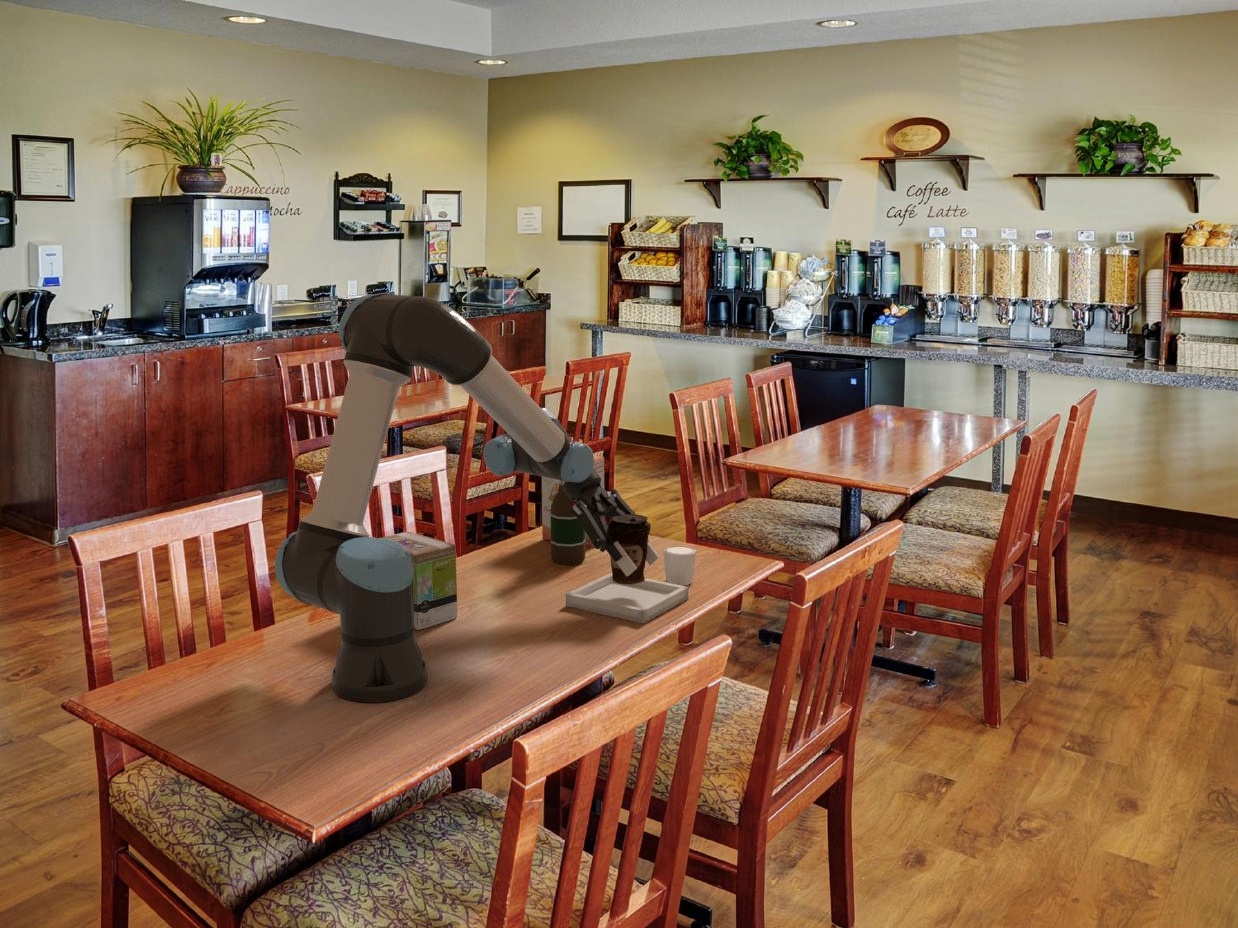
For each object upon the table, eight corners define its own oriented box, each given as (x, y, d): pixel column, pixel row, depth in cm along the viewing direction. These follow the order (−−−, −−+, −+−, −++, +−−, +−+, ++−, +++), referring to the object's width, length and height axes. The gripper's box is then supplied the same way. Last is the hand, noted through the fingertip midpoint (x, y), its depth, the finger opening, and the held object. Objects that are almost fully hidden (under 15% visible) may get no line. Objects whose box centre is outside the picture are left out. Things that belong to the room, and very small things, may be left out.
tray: (643, 623, 210) (643, 611, 210) (565, 605, 220) (565, 593, 219) (688, 598, 224) (688, 587, 224) (613, 583, 234) (613, 571, 233)
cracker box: (541, 540, 265) (540, 454, 260) (554, 534, 270) (554, 449, 265) (592, 549, 258) (592, 460, 254) (605, 542, 263) (605, 455, 259)
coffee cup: (645, 589, 216) (646, 525, 213) (603, 586, 218) (603, 522, 215) (653, 575, 225) (653, 513, 222) (612, 572, 226) (612, 510, 223)
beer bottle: (572, 568, 244) (571, 460, 239) (543, 562, 248) (542, 456, 243) (592, 559, 250) (592, 454, 245) (564, 553, 254) (563, 450, 249)
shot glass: (679, 574, 240) (679, 543, 238) (702, 582, 235) (703, 550, 233) (656, 581, 235) (656, 549, 234) (679, 589, 230) (680, 556, 229)
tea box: (459, 618, 213) (457, 543, 210) (417, 632, 206) (414, 555, 203) (411, 600, 223) (408, 528, 220) (369, 613, 216) (365, 539, 213)
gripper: (594, 477, 234) (659, 563, 229) (534, 497, 218) (603, 591, 212) (615, 455, 230) (682, 543, 225) (555, 474, 214) (626, 569, 208)
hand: (643, 566), depth 219 cm, fingers closed on coffee cup, 8 cm apart
